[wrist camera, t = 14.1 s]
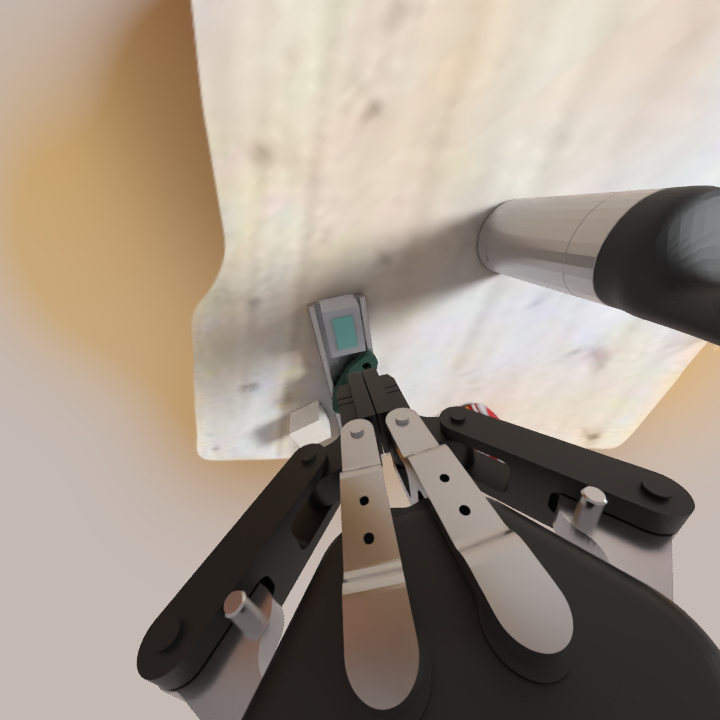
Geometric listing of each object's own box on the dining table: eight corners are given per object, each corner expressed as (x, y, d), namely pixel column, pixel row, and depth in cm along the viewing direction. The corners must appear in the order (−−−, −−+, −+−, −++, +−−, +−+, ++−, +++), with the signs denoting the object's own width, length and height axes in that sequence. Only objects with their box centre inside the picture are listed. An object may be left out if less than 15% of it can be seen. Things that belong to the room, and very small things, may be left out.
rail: (362, 292, 37) (365, 296, 35) (382, 426, 50) (385, 435, 48) (307, 303, 37) (308, 308, 35) (341, 436, 49) (343, 446, 47)
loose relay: (317, 399, 44) (319, 420, 40) (328, 416, 46) (331, 437, 42) (290, 412, 45) (289, 434, 40) (302, 428, 47) (302, 450, 42)
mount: (358, 346, 39) (365, 363, 34) (384, 357, 40) (393, 375, 36) (324, 404, 42) (326, 426, 38) (349, 412, 44) (354, 434, 40)
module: (351, 293, 36) (359, 305, 31) (358, 334, 39) (366, 351, 34) (319, 300, 36) (321, 313, 31) (328, 341, 39) (332, 359, 34)
